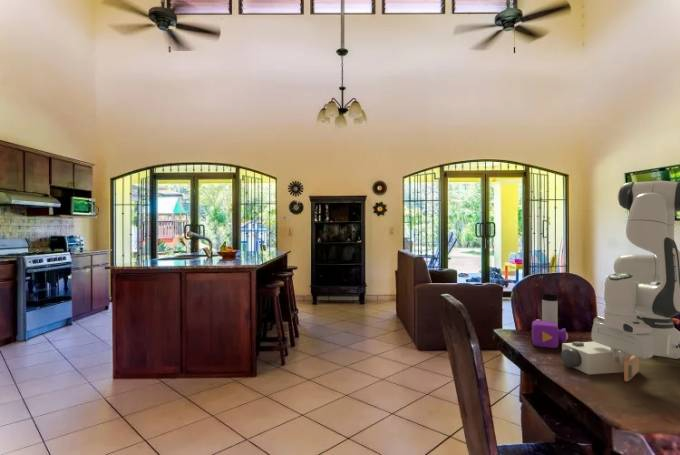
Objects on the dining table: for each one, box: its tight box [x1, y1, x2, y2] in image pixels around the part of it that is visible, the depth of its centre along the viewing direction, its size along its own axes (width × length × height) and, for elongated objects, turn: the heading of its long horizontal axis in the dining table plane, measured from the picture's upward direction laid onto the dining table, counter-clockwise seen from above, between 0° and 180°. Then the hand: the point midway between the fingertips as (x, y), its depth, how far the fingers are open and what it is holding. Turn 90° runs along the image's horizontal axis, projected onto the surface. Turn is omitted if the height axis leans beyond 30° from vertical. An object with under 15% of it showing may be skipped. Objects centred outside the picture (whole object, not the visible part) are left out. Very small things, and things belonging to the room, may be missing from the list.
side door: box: [623, 355, 640, 382], centre depth 128 cm, size 16×2×6 cm, turn 130°
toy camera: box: [531, 319, 569, 349], centre depth 162 cm, size 11×14×10 cm
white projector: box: [560, 341, 632, 375], centre depth 137 cm, size 21×12×8 cm, turn 100°
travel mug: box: [541, 292, 559, 326], centre depth 176 cm, size 6×7×20 cm
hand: (619, 363), depth 129 cm, fingers closed
